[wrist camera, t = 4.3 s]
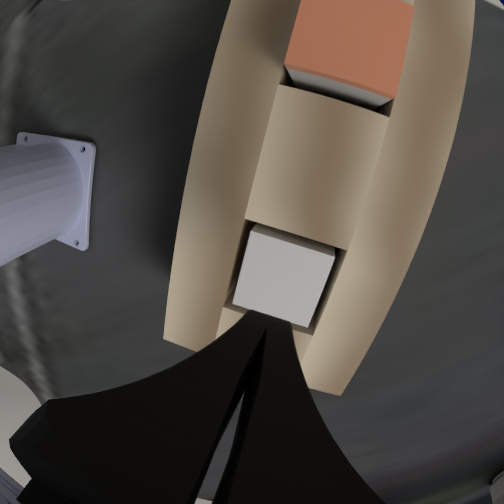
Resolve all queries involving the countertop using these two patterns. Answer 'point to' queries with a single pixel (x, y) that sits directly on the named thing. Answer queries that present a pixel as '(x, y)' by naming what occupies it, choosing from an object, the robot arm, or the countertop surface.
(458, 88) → the button block
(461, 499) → the countertop surface
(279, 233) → the matte grey cube
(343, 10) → the orange block
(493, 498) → the energy drink can
